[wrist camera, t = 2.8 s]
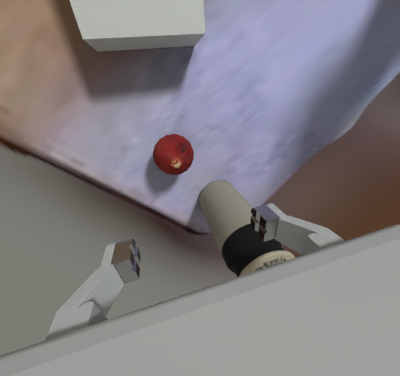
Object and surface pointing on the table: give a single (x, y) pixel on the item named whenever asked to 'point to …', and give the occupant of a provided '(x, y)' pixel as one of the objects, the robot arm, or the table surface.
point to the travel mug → (238, 230)
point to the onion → (173, 154)
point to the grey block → (139, 23)
